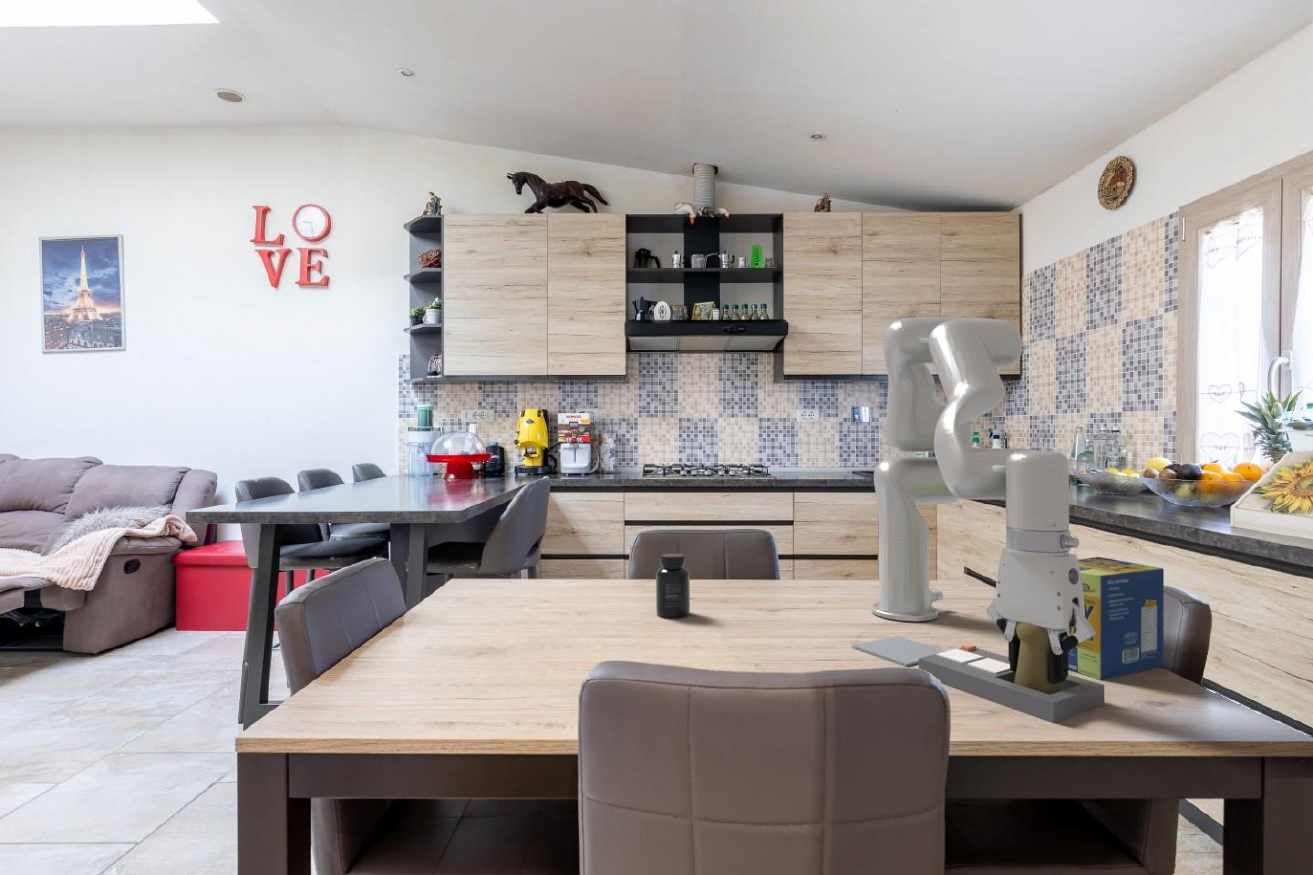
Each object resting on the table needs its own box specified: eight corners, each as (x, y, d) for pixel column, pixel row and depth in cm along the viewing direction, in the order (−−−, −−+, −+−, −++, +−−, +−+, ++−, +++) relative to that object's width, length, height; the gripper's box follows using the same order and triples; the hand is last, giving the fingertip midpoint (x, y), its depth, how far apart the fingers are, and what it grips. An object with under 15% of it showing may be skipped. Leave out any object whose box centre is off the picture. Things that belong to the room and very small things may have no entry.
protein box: (1035, 659, 109) (1035, 563, 109) (1099, 647, 115) (1098, 556, 115) (1100, 681, 99) (1100, 575, 99) (1166, 666, 105) (1165, 566, 105)
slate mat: (897, 638, 121) (897, 635, 121) (951, 654, 111) (951, 652, 111) (853, 647, 115) (853, 645, 115) (906, 666, 106) (906, 663, 106)
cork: (1003, 691, 95) (1003, 612, 95) (1044, 689, 96) (1044, 611, 96) (1030, 708, 89) (1030, 624, 89) (1074, 706, 90) (1073, 623, 90)
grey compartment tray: (969, 661, 108) (969, 642, 108) (1104, 703, 91) (1104, 680, 91) (918, 674, 102) (918, 654, 102) (1053, 722, 85) (1053, 698, 85)
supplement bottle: (696, 613, 139) (695, 554, 139) (679, 620, 133) (678, 559, 133) (667, 608, 142) (667, 551, 142) (649, 615, 137) (649, 556, 137)
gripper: (1119, 547, 87) (1119, 690, 87) (995, 532, 102) (996, 654, 102) (1087, 552, 83) (1088, 701, 83) (963, 536, 98) (964, 662, 98)
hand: (1037, 674), depth 93 cm, fingers open, 4 cm apart
